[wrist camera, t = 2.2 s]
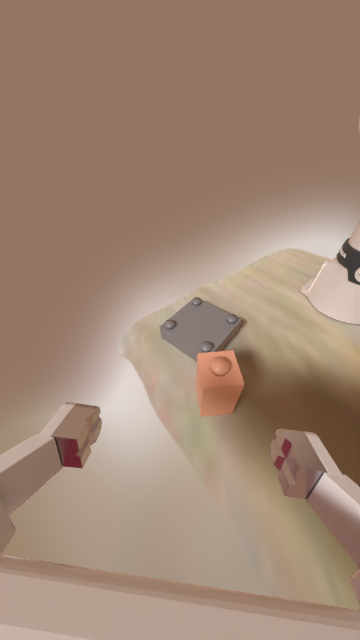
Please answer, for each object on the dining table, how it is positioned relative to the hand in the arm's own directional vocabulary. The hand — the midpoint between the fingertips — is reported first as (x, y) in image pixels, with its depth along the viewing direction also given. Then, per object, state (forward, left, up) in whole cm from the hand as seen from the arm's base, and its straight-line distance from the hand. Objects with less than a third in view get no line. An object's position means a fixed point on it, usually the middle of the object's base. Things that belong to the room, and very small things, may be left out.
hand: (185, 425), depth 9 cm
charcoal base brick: (-20, -13, -23) cm, 33 cm away
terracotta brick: (-10, -3, -22) cm, 25 cm away
